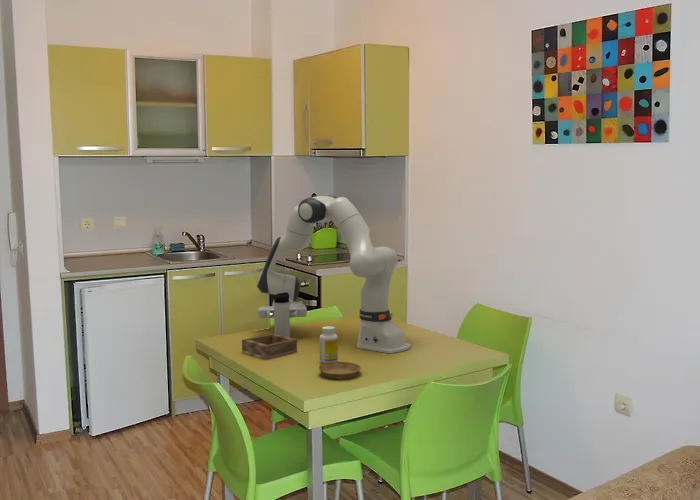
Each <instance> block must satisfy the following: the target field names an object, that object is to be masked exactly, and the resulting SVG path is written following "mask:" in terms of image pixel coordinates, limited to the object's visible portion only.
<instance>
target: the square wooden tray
mask: <svg viewBox="0 0 700 500" xmlns="http://www.w3.org/2000/svg"><path fill="white" fill-rule="evenodd" d="M241 348H242V349H241V350H242V351H241V352H242V353H243V354H247V355H249V356H253V357H255V358H259V359H262V360H271V359H275V358H279V357H283V356H287V355H291V354H296V353H298V340H297V339H296V338H293V337H290V338H289V337H285V336H282V335H278V334H275V332H274V333H273V332H271V333H270V332H269V333H268V334H267V333H266V334H263V335H257V336H253V337H248V338H244V339H241Z"/></svg>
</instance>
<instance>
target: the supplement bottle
mask: <svg viewBox="0 0 700 500" xmlns="http://www.w3.org/2000/svg"><path fill="white" fill-rule="evenodd" d="M321 332H322V334H320V336H319V362H320V363H322V364H325V363H330V362H339V353H338V352H339V347H338V346H339V343H338V342H339V341H338V339H339V338H338V335H337V334H336V333H335V332H336V327H334V326H330V325H329V326H328V325H327V326H326V325H325V326H322V328H321Z"/></svg>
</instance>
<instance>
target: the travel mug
mask: <svg viewBox="0 0 700 500" xmlns="http://www.w3.org/2000/svg"><path fill="white" fill-rule="evenodd" d="M273 300H274V318H273V321H274V322H273V323H274V334H278V335H282V336H285V337H289V338H291V332H290V331H291V325H290V324H291V323H290V322H291V321H290V319H291V318H290V310H289V294H288V293H287V292H284V293H279V294H276V295H274V294H273Z"/></svg>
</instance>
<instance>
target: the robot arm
mask: <svg viewBox="0 0 700 500" xmlns="http://www.w3.org/2000/svg"><path fill="white" fill-rule="evenodd" d="M287 222H288V223H287V226H286V230H285V232H284V233H283V234H282V235H281V236H279V237H277V238H276V239H275V241H274V243H273V245H272V248H271V250H270V251H269V254H268V256H267V259H266V261H265V263H264V267H263V268H262V270H261V271H260V274H259V275H258V277H257V282H256V287H257V290H259V292H260V293H261V294H267V295H268V294H270V295H273V296H274V295H276V294H279V293H284V292H287V293H288V294H289V310H290V319H291V318H300V317H301V318H304V317H305V318H306V317H308V315H307V314H308V310H307V305H305V304H304V303H303V301H302V300H298V298H299V294H300V288H301V287H300V286H301V285H300V284H301V282H300V280H299V278H298V277H297V275H296V276H295V275H291V274H286V273H282V272H281V273H280V272H276V271H274V267H275V265H276V262H277V261H278V259H279V257H280V256H281V255H283V254H286V253H291V252H298V251H302V250H303V249H305V248H307V247H308V246H309V245H310V242H311V239H312V235H313V231H314V227H315V224H318V223H319V224H320V223H321V224H323V223H328V222H332V223H333V224H334V226H335V228H336V229H337V231H338V232H339V234H340V236H341V237H342V239H343V241H344V242H345V245H346V246H347V249H348V252H349V255H350V260H349V268H350V271H351V272H352V274H353V275H354V276H355V277H358V278H365V282H364V284H363V286H361V287H362V288H361V289H360V308H359V312H358V313H359V319H360V323H359V330H358V337H357V341H356V348H357V349H360V350H361V349H362V350H365V351H366V350H367V351H372V352H380V353H385V354H394V353H400V352H403V351H406V350H409V349H411V348H412V344H410V343H408V342H406V338H405V337H406V336H405V333H404V331H403V330H402V329H401V328H400V327H399V326H398V325H397V324H396V323H395V322H394V321H393V320H392V317H393V316H394V312H391V311H390V309H389V292H390V291H389V290H390V285H391V280H392V277H393V273H394V270H395V268H396V266H397V265H398V261H399V257H398V254H397V252H396V251H395V250H394V249H393V248H391V247H388V246H383V245H382V246H377V247H376V246H374V245H373V242H372V240H371V232H372V231H371V228H370V227H369V225H368V224H367V223H366V221H365V219H364V218H363V216H362V214H361V213H360V212H359V210H358V209H357V208H356V206H355V205H354V204H353V203H352V202H351V201H350V200H349V198H347V197H346V196H340V197H337V196H333V195H317V196H313V197H306V198H305V199H303V200H301V202H299V204H298V205H296V206H294V208H293V210H292V211H291V214H290V216H289V218H288V221H287ZM257 317H258V318H259V319H274V299H273V301H272V305H268V306H267V305H266V306H265V305H264V306H260V307H258V309H257Z"/></svg>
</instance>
